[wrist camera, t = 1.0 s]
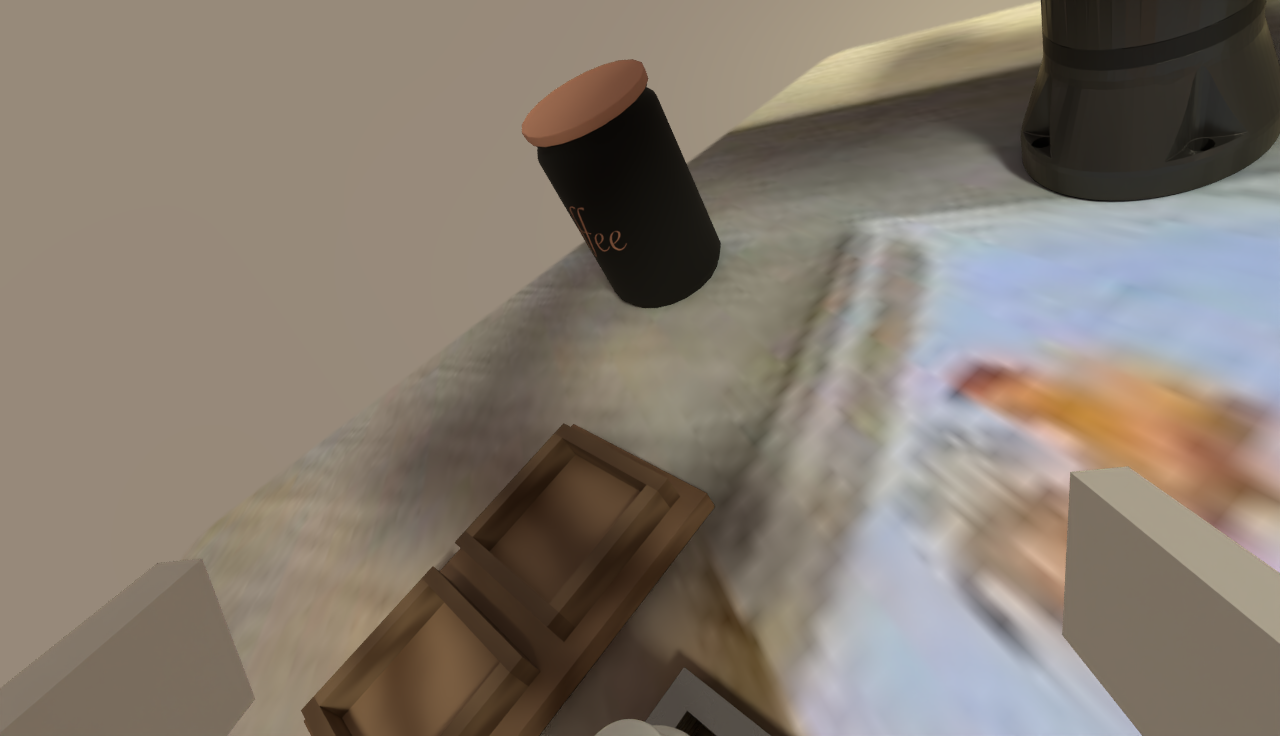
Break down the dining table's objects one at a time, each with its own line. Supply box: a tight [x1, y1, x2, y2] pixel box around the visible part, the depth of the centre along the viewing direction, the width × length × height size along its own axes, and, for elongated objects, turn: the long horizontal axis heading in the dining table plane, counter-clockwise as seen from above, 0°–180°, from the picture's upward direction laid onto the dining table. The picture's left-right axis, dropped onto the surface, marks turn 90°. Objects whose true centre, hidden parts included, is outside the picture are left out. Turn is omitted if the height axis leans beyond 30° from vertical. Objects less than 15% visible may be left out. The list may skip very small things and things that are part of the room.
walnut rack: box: [301, 424, 715, 736], centre depth 43 cm, size 26×14×4 cm, turn 136°
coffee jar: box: [522, 59, 721, 308], centre depth 58 cm, size 11×11×18 cm
